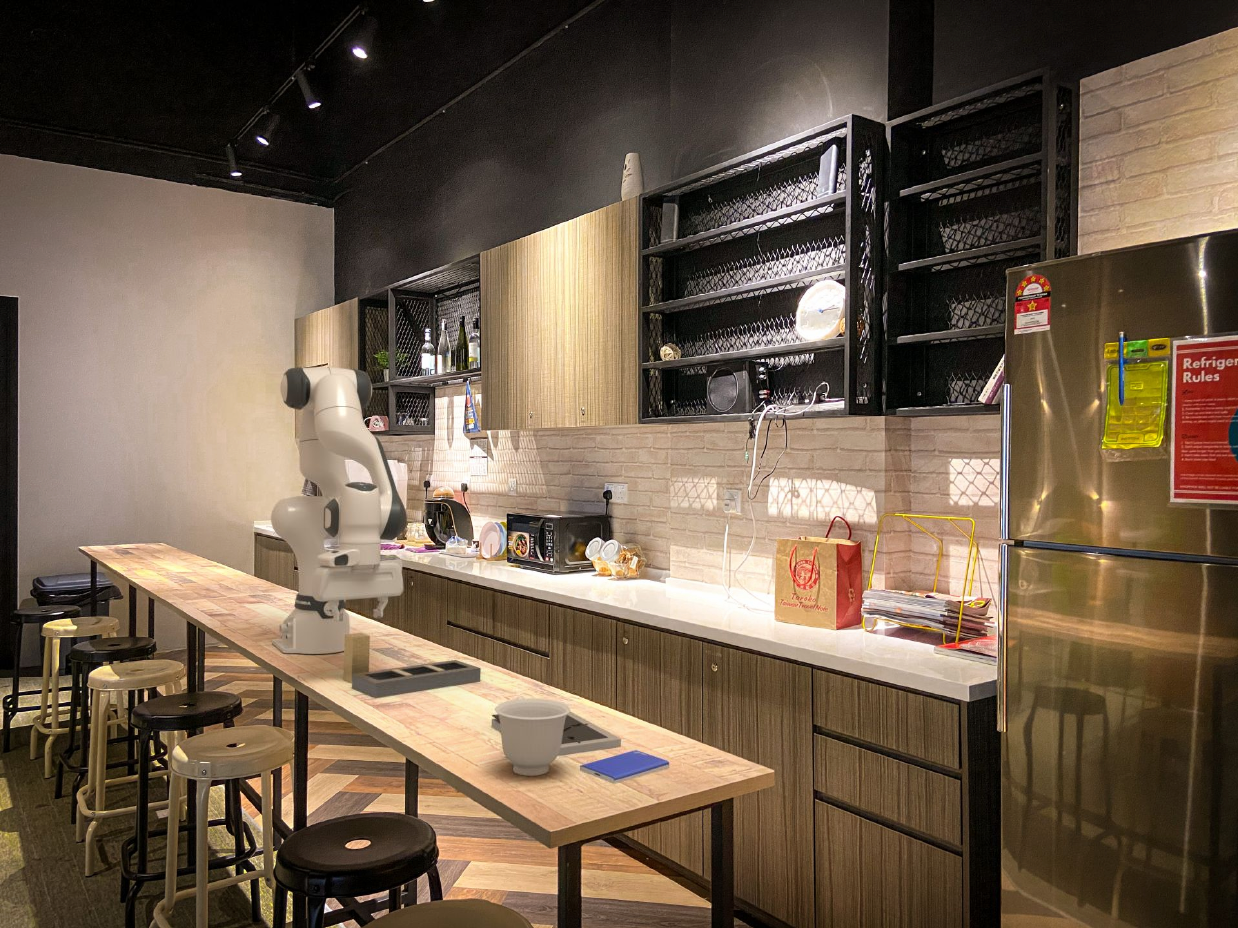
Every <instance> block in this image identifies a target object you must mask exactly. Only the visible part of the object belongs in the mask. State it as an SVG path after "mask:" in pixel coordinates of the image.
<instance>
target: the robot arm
mask: <svg viewBox="0 0 1238 928" xmlns="http://www.w3.org/2000/svg"><path fill="white" fill-rule="evenodd" d="M279 386H280V394H281V398H282V400H283V403H284V404H285V405H286V406H287V407H288V408H290V409H294V410H297V411H301V415H300V421H299V430H298V433H299V434H298V445H299V446H298V447H299V450H298V452H299V453H298V454H299V457H298V458H299V459H298V461H299V471H300V473H301V475H302V476H303V477H304V478H305V479H306V480H307V481H309V482H311V483H314V484H315V485H316V486H318V488H319V491H321V492H320V493H321V496H318V495H316V496H315V495H314V496H313V495H309V496H308V495H302V496H301V495H298V496H293V497H287V498H282V499H279V500H278V501H277V502H276V504H275V505H274V507H273V508H272V511H271V516H270V522H271V526H272V530H273V531H274V533H276V535H277V536H278V537H279V538H281V539H283V540H284V541H285V542H286V543H287V544H288V546H289V547H290V548H291V550H292V552H293V553H294V556H295V558H296V559H295V560H296V562H297V569H298V572H297V573H298V593H297V594H295V596H296V597H295V600H294V606H293V607H294V609H293V610H292V612H290V613H289V615H287V617H286V618H285V619H284V620H283V623H280V624H279V629H278V630H279V634H281V637H277V638H274V639H272V644H273V645H274V646H275V647H276V648H277V649H278V650H279V651H281V653H283V654H303V655H306V654H307V655H322V654H334V653H340V652H344V640H345V635H347V634H351V627H350V626H351V625H350V624H351V623H350V615H349V613H348V612H347V611H346V610H345V607H346V601H347V600H350V601H351V600H360V599H362V600H363V599H377V601H378V602H379V603H378V605H377V607H376V608H373V610H372V612H373V617H374V618H375V619H377V618H383V616H384V609H385V608H386V607H387V604H388V602H389V597H399V596H401V595H402V593H403V592H404V579H403V572H402V571H403V560H402V559H401V557H399V556H398V555H397V554H390V555H389V554H388V555H387V554H381V546H382V545H381V544H382V543H381V540H384V541H393V540H395V539H396V538H398V537H399V536H400V535H401V534H402V533H403V532H404V530H405V529H406V527H407V521H408V520H407V519H408V517H407V509H406V507H405V505H404V503H403V501H402V499H401V497H400V495H399V492H398V488H397V486H396V483H395V480H394V477H393V474H392V471H391V467H390V464H389V462H388V458H387V456H386V452H385V450H384V447H383V445H382V442H381V441H380V439H379V437H377V436H375V435H373V434H372V432H370V430H369V429H368V428H367V425H366V424H365V421H364V418H363V413H362V412H363V410H364V409H365V408H366V407H368V406H369V405H370V402H371V398H372V394H373V386H372V381H371V378H370V376H369V374H368V373H367V372H366V371H363V370H360V369H356V368H353V369H349V368H342V367H336V366H335V367H334V366H327V367H325V366H324V367H319V366H317V367H316V366H315V367H301V366H297V367H292V368H288V369H287V370H285V372H284V374H283V377H282V379H281V382H280V385H279ZM346 458H347V459H349V460H351V461H354V462H356V463H357V464H360V465H361V466H363V467H364V468H365V469H366V470H367V472H368V473H369V476H370V480H371V481H372V483H369V482H363V481H361V482H360V481H354V482H351V481H350V479H349V476H348V472H347V468H346V467H347V465H346ZM338 539H339V542H338V546H339V547H337V548H334V549H332V550H330V551H328V550H327V549H326V548H325V544H324V543H325V542H324V540H338Z"/></svg>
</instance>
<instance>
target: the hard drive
mask: <svg viewBox="0 0 1238 928" xmlns="http://www.w3.org/2000/svg"><path fill="white" fill-rule="evenodd" d="M666 769H670V762H669V761H668V760H666V759H663V758H661V757H657V756H655V755H652V754H649V753H646V752H644V751H641V750H637V749H635V750H630V751H628V752H624V753H620V754H616V755H614V756H613V755H612V756H609V757H605V758H603V759H599V760H596V761H592V762H588V763H585V764H582V765H579V771H581V772H583V773H586V774H589V775H591V776H593V777H597V778H598V779H600V780H601V779H602V780H604V781H606V782H609V783H612V784H614V785H616V784H618V783H622V782H623V783H624V782H625V781H629V780H631V779H635V778H639V777H642V776H646V775H649V774H652V773H656V772H659V771H662V770H666Z"/></svg>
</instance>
